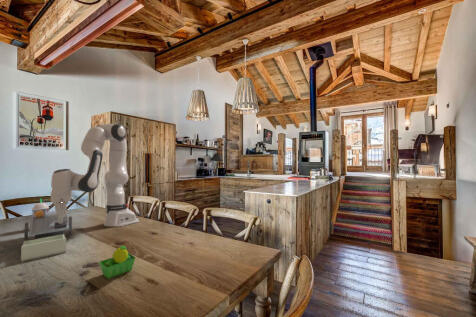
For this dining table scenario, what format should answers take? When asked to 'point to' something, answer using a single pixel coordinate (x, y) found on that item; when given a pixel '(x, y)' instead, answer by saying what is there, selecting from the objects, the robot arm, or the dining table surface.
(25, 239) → the fulcrum stand
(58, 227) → the seesaw lever
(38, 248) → the bin
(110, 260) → the fruit basket
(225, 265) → the dining table surface
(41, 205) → the smoothie
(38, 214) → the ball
